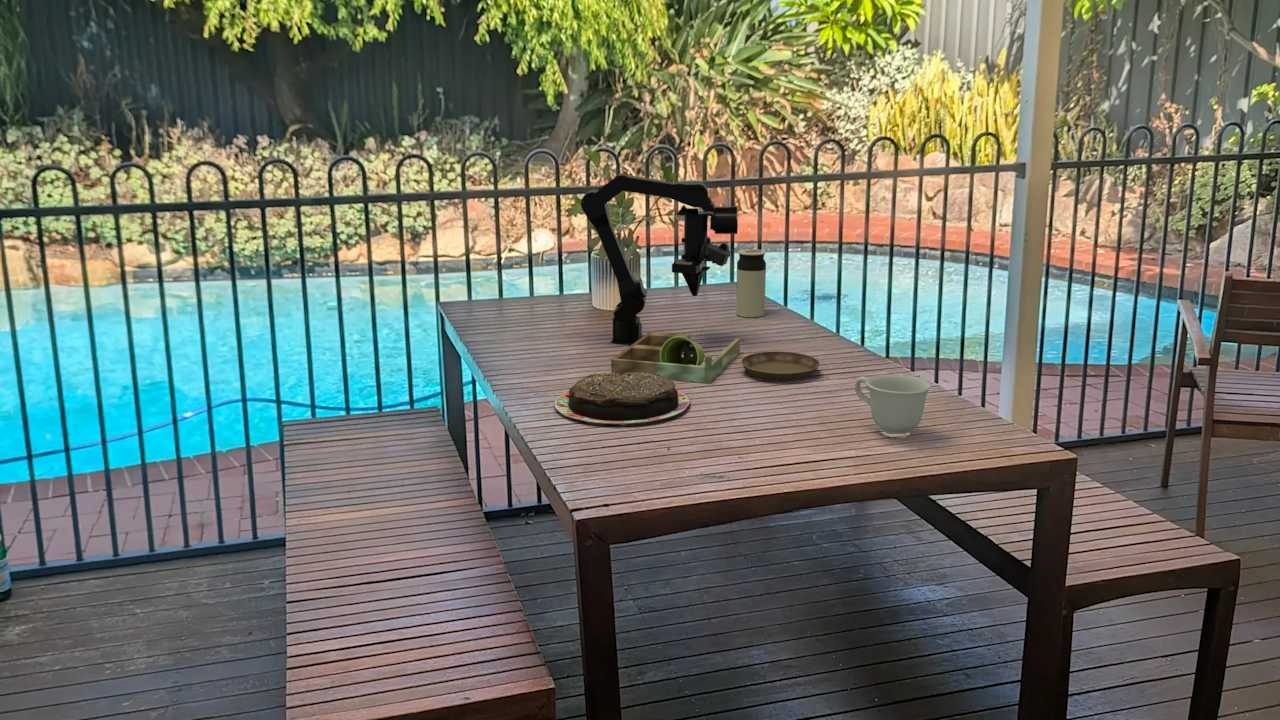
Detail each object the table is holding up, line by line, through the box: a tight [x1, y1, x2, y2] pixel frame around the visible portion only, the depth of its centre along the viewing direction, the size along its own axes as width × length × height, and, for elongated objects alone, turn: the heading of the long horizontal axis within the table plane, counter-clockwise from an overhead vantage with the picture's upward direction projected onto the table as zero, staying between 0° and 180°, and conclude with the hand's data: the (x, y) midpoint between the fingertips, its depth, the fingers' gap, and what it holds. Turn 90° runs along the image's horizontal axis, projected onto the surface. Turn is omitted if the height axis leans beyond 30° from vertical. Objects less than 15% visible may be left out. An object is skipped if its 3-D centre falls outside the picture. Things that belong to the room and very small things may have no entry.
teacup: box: [854, 373, 933, 434], centre depth 205 cm, size 12×15×10 cm
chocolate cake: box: [553, 372, 691, 428], centre depth 222 cm, size 28×28×7 cm
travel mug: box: [735, 248, 767, 319], centre depth 301 cm, size 8×8×18 cm
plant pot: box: [660, 336, 706, 366], centre depth 246 cm, size 9×9×9 cm
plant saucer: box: [740, 351, 820, 383], centre depth 246 cm, size 18×18×3 cm
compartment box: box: [610, 331, 741, 384], centre depth 254 cm, size 23×28×6 cm
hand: (694, 295), depth 271 cm, fingers closed
